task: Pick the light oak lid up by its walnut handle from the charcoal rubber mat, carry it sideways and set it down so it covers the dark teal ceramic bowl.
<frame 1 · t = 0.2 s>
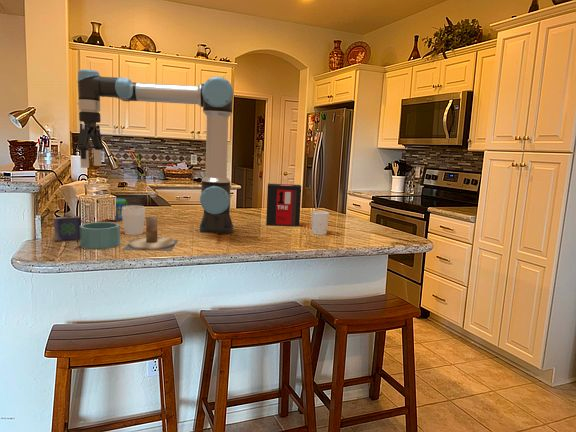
hand: (91, 166, 169), 28 cm above the countertop, fingers open, 13 cm apart
white cup: (319, 234, 197), on the countertop
cup: (133, 236, 176), on the countertop
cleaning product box: (282, 224, 216), on the countertop
bowl: (100, 247, 155), on the countertop
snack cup: (114, 220, 206), on the countertop
lid: (151, 244, 158), point 1 cm above the countertop, touching rubber mat
rubber mat: (151, 247, 158), on the countertop
flask: (68, 240, 164), on the countertop
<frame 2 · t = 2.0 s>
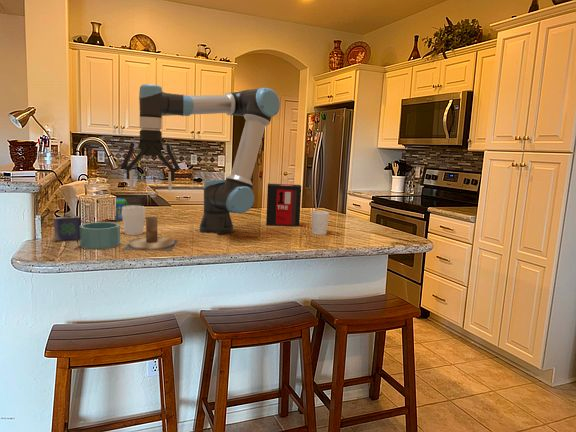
hand: (150, 189, 155), 22 cm above the countertop, fingers open, 13 cm apart
nothing on the countertop moved.
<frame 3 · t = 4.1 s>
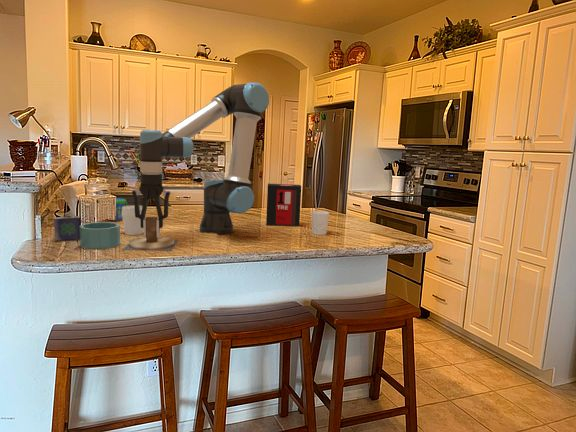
hand: (151, 236, 158), 4 cm above the countertop, fingers closed on lid, 4 cm apart
lid: (151, 244, 158), point 1 cm above the countertop, touching gripper, rubber mat
everything else where it was.
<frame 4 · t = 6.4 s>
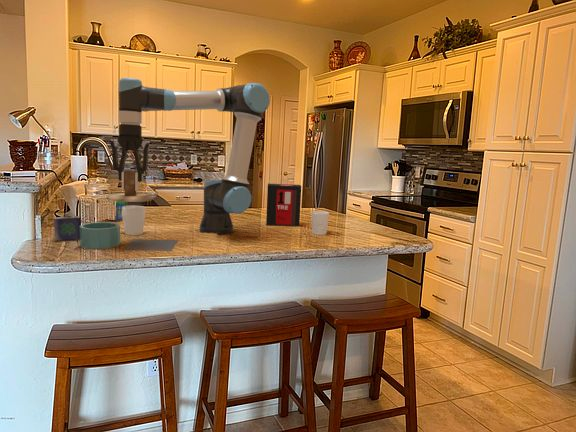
hand: (130, 190, 153), 21 cm above the countertop, fingers closed on lid, 4 cm apart
lid: (130, 198, 154), point 18 cm above the countertop, touching gripper
everything else where it was.
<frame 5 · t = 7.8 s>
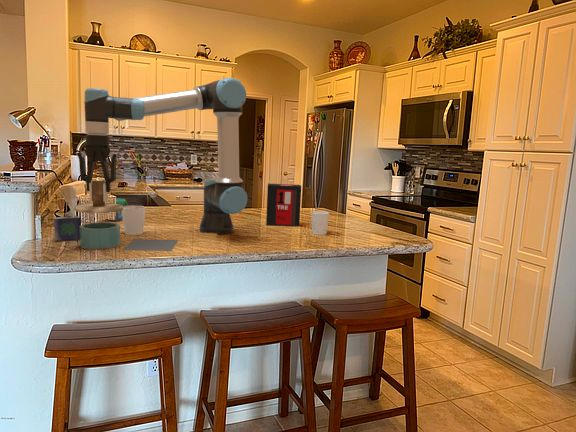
hand: (98, 200, 153), 17 cm above the countertop, fingers closed on lid, 4 cm apart
lid: (99, 209, 153), point 14 cm above the countertop, touching gripper
everything else where it was.
when the fingers open (13 cm above the countertop, at t = 8.7 s): lid drops 2 cm, resting on bowl.
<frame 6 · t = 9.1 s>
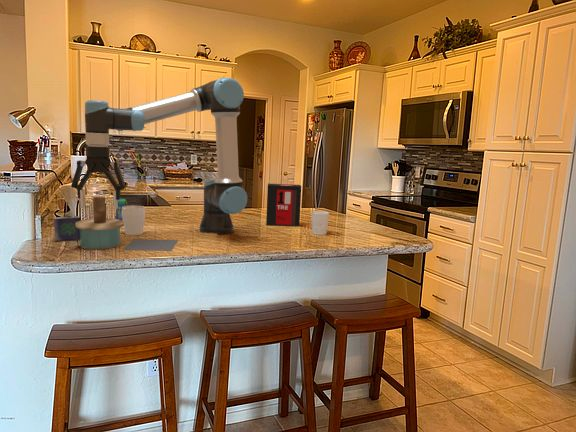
hand: (99, 208, 153), 14 cm above the countertop, fingers open, 10 cm apart
lid: (100, 225, 154), point 8 cm above the countertop, touching bowl
everything else where it was.
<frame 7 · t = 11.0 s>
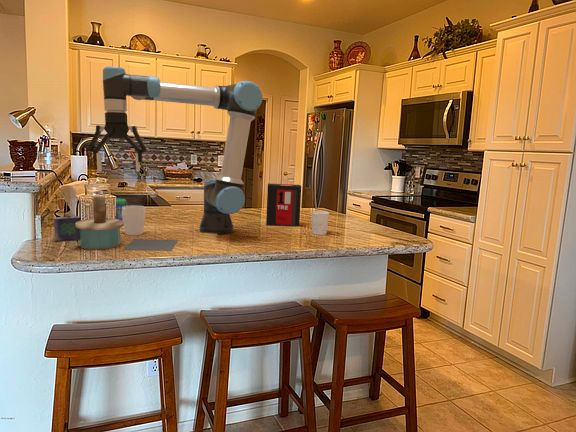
hand: (119, 171, 157), 27 cm above the countertop, fingers open, 13 cm apart
nothing on the countertop moved.
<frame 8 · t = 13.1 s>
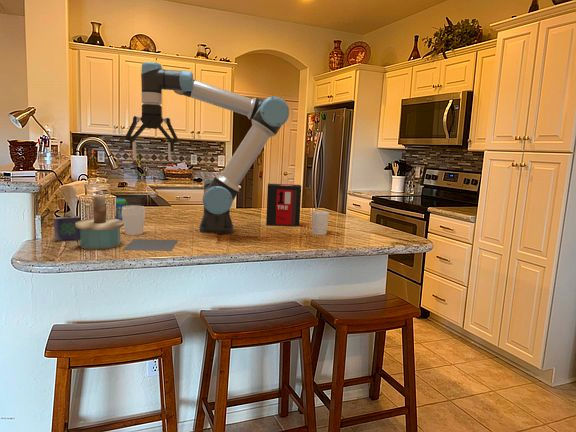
hand: (152, 159, 169), 32 cm above the countertop, fingers open, 13 cm apart
nothing on the countertop moved.
at the end: lid 0.0 cm off-centre on the bowl, point 8.0 cm above the bowl's base; lid tilted 0°; the gripper is holding nothing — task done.
